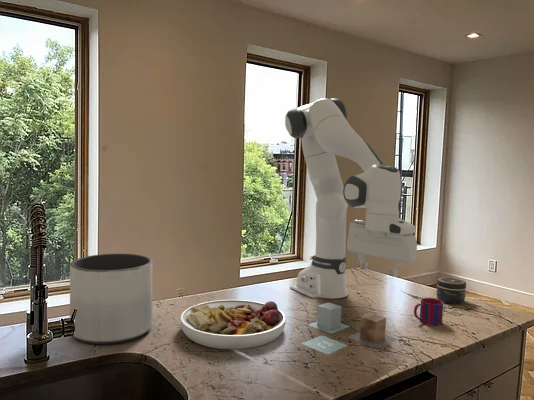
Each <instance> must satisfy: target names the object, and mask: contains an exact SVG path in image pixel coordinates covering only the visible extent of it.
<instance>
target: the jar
mask: <svg viewBox="0 0 534 400" xmlns="http://www.w3.org/2000/svg"><path fill="white" fill-rule="evenodd" d="M466 290H467V282H466V280H463V279H460V278H458V277H457V278H456V277H450V276H443V277H438V278H437V282H436V299H438V300H441V301H443V304H444V303H445V304H448V305H461V304H464V302H465V300H466V292H467V291H466Z"/></svg>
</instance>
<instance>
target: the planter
mask: <svg viewBox="0 0 534 400" xmlns="http://www.w3.org/2000/svg"><path fill="white" fill-rule="evenodd" d="M153 299H154V298H153V259H152V258H150V257H149V256H146V255H143V254H142V255H141V254H135V253H102V254H94V255H87V256H82V257H79V258H77V259H74V260H72V261H71V262H70V263H69V318H70V317H71V316H72V314H73V312H74V309H76V308H77V314H76V316H75V333H74V335H73V336H72V337H74V338H75V339H77V340H79V341H80V342H83V343H85V344H86V343H88V344H93V345H112V344H113V345H114V344H120V343H125V342H130V341H133V340H134V339H137V338H140V337H142V336H143V335H144V334H146V333H147V332H149V331H150V330H151V328H152V326H153V319H154V318H153V317H154V315H153V314H154V313H153V310H154V309H153V305H154V304H153V301H154V300H153Z"/></svg>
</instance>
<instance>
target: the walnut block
mask: <svg viewBox="0 0 534 400" xmlns="http://www.w3.org/2000/svg"><path fill="white" fill-rule="evenodd" d="M386 324H387V317H386V316H382V315H378V314H375V313H372V312H370V313H367V314H365V315H362V316H360V324H359V326H360V329H359V332H360V338H362V339H365V340H368V341H371V342H373V343H377V342H379V341H381V340H383V339H385V335H386V328H387V327H386V326H387V325H386Z"/></svg>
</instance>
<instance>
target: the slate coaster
mask: <svg viewBox="0 0 534 400" xmlns="http://www.w3.org/2000/svg"><path fill="white" fill-rule="evenodd" d="M347 339H351V340H354V341H357V342H360V343H361V344H365V345H367V346H370V347H372V348H376V349H378V350H379V349H380V348H382V347H384V346H387V345H390V344H391V343H392V342H395V341H398V338H396V337H393V336H390V335H387V334H385V339H383V340H381V341H379V342H377V343H373V342H371V341H368V340H365V339H362V338H360V331H359V332H356V333H354V334H351V335H349V336H348V337H347Z"/></svg>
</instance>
